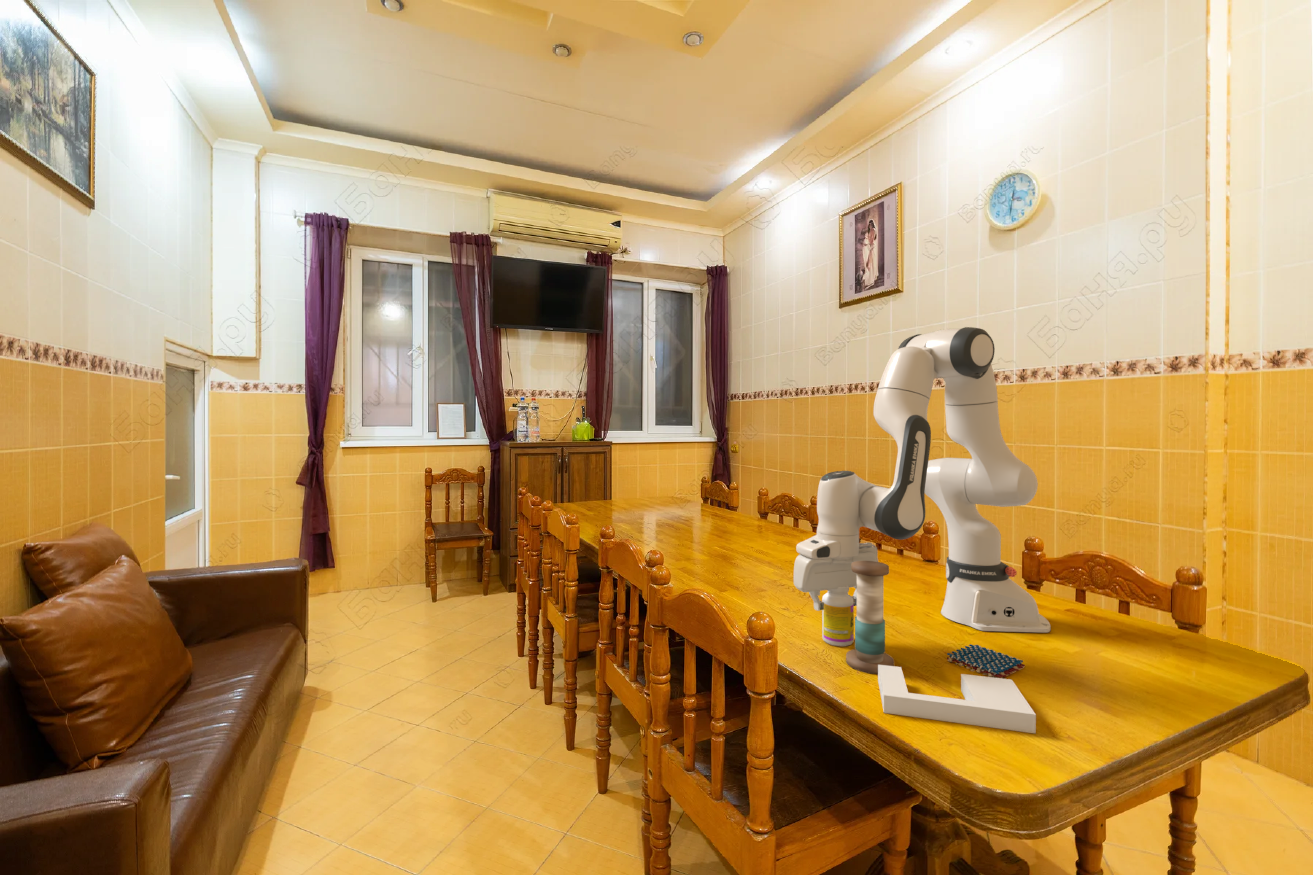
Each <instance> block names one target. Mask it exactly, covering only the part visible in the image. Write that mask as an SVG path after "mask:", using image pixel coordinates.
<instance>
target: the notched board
mask: <svg viewBox="0 0 1313 875" xmlns="http://www.w3.org/2000/svg"><path fill="white" fill-rule="evenodd" d="M960 679H961V680H960V691H961V693H962V695H963V698H964V699H961V698H954V697H953V698H952V697H944V696H938V695H930V694H929V695H928V694H921V693H913V692H909V691H908V688H907V684H906V683H907V682H906V680H905V676H904V673H903V670H902V666H895V665H894V666H887V665H878V674H877V682H878V687H879V693H880V698H881V704H882V709H883V713H884V714H889V715H898V716H904V717H911V718H912V717H913V718H921V719H927V720H934V721H941V722H949V723H957V724H963V725H972V726H978V727H986V728H992V729H993V728H994V729H1000V730H1007V731H1008V730H1009V731H1013V732H1014V731H1016V732H1022V733H1028V734H1037V733H1036V730H1037V726H1036V724H1037V714H1036V713H1035V711H1034V709H1033V708H1032V707H1031V706H1030V704H1029V703H1028V701H1027V699H1026V698H1025V697H1024V695H1023V694H1022V693H1021V691H1020V689H1019V688H1018V686H1017V685H1016V683H1015V682H1014V681H1013V679H1010V678H1008V679H1007V678H1003V677H1002V678H996V677H989V676H985V675H984V676H983V675H982V676H981V675H976V674H975V675H973V674H966V673H960Z"/></svg>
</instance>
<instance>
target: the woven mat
mask: <svg viewBox="0 0 1313 875" xmlns="http://www.w3.org/2000/svg"><path fill="white" fill-rule="evenodd" d="M946 654H947V656H948V657H946V660H947V661H948V662H949V663H955V665H957V664H958V665H959V666H960V667H961V666H964V667H965V669H970V671H971V672H976V673H978V674H982V676H983V675H984V676H987V677H993V678H1002V679H1003V678H1007V677H1008V676H1010V675H1012V674H1014V673H1016V672H1019V671H1020V670H1022V669H1024V668H1025V667H1026V664H1024V663H1023V662H1024V660H1023V659H1019V658H1017V657H1014V656H1009V655H1008V654H1005V653H1001V652H997V651H995V650H993V649H989V648H986V647H982V646H981V645H979V644H975V645H974V644H968V646H967V645H965V646H964V648H963V647H960V649H955V651H951V652H948V653H946ZM965 665H966V666H965Z"/></svg>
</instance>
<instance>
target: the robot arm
mask: <svg viewBox="0 0 1313 875" xmlns="http://www.w3.org/2000/svg"><path fill="white" fill-rule="evenodd" d="M994 357H995V343H994V341H993V338H992V337H991V336H990V334H989V333H988V332H987V330H985V329H983V328H980V327H972V326H969V327H968V326H964V327H962V328H946V329H944V328H943V329H939V330H936V331H930V332H926V333H923V334H922V333H919V334H918V333H917V334H915V335H911V336H909V337H907V338H905V339H904V340H903V341H902V342H901V343H900V345H899V346H898V348H897V349H896V350H894V352H892V353H891V355H890V357H889V360H888V361H887V363H886V365H885V368H884V370H883V372H882V375H881V377H880V381H879V383H878V388H877V390H876V394H875V398H874V403H873V417H874V419H875V422H876V423H877V425H878V426H879V428H880V429H882V430H883V431H885V432H886V433H887V434H889V435H890V436H891V437H892V438H893V439H894V441H895V443H896V446H897V455H896V462H895V470H894V476H893V483H892V485H891V487H889V488H888V487H884V486H880V485H876V484H874V483H872V482H870V481H869V482H868V481H867V480H864V479H863V478H862V477H860V476H858V475H857V474H856V473H855V472H854V471H851V470H837V471H831V472H828V473H826V474H824V475H822V476H821V478H820V480H819V484H818V485H817V486H818V488H817V493H816V495H817V497H816V512H817V513H816V514H817V516H818V524H817V527H816V534H815V535H813V536H811V537H809V538H807V539H805V540H803V541H800V542H798V543H797V544H796V546H795V548H796V549H795V550H796V552H797V553H798V555H797V556H796V558H795V560H794V563H793V564H794V566H793V585H794V586H795V588H796V589H797V590H798V591H800V592H802V593H809V595H810V597H811V599H812V601H813V609H814V610H815V611H818V612H820V611H822V610H824V602H822V600H820V598H819V596H821V591H828V590H831V589H837V588H838V587H843V586H848V587H849V588H854V589H855V590H854V592H853V595H850V596H851V597H852V598H853V601H854V607H857V573H854V572H853V571H852V570H851V563H852V562H855V561H875V562H879V558H878V547H877V546H876V545H875V544H873V543H872V542H864V543H863V542H860V528H862V527H864V528H868V529H870V530H872V531H877V532H878V533H882V534H883V535H886V536H888V537H890V538H892V539H895V540H900V541H902V540H906V539H910V538H912V537H914V536H915V535H916V534H917V533H918V532H920V530H921V528H922V527H923V525H924V523H925V520H926V500H925V498H926V497H925V495H926V496H927V498H930V499H931V500H932V501H933V502H934V503H935V504H936V506H937V508H938V509H939V510H940V512H941V513H942V516H943V518H944V520H945V524H946V528H947V529H946V530H947V538H948V556H947V557H946V563H945V578H946V580H947V584H946V590H945V596H944V599H943V605H942V607H941V611H940V614H941V615H942V616H943V617H944V618H946V619H948V620H950V621H952V622H956V623H959V624H962V625H966V626H968V627H972V628H973V629H976V630H979V631H982V632H1006V633H1007V632H1008V633H1009V632H1014V633H1042V634H1043V633H1050V632H1051V630H1052V629H1051V627H1052V626H1051V624H1050V622H1049V620H1048V619H1047V618H1046V617H1044V616H1043V615H1042V614H1040V613H1039V608H1038V605H1037V601H1036V600H1035V598H1034V597H1033V596H1032V595H1031V594H1030V593H1029V592H1027V590H1026V589H1024V588H1022V586H1020V585H1019V584H1018V583H1016V582H1015V581H1014V580H1012V579H1011V578H1015V577H1016V576H1017V575H1018V572H1017V570H1016V569H1015V568H1014V567H1013V566H1009V565H1008V564H1006V563H1004V562H1002V561H1001V556H1002V554H1001V550H1002V549H1001V547H1002V546H1001V545H1002V544H1001V542H1002V540H1001V539H1002V534H1001V532H1000V530H999V528H998V527H997V526H996V525H995V524H994V523H993V522H991V521H990V520H989V519H986V518H985V517H984V516H982V515H981V514H980V512H979V511H978V509H977V507H976V505H982V506H991V507H1000V508H1005V507H1019V506H1026V505H1028V504H1029V503H1030V502H1031V501H1032V500H1033V499H1034V497H1036V496H1035V495H1036V493H1037V492H1038V487H1039V486H1038V484H1039V482H1038V479H1037V478H1038V477H1037V476H1036V473H1035V472H1034V470H1033V469H1032V467H1030V466H1029V465H1028V464H1026V463H1025V462H1023V461H1022V460H1021V459H1020V458H1018V457H1017V456H1016V455H1015V454H1014V453H1013V452H1012V451H1011V449H1010V448H1009V446H1008V445H1007V443H1006V441H1005V440H1004V437H1003V435H1002V431H1001V424H1000V416H999V403H998V402H999V399H998V398H999V397H998V388H997V382H996V377H995V373H994V372H995V371H994V370H993V366H992V363H993V360H994ZM935 379H943V381H944V383H945V385H944V410H945V414H944V415H945V427H946V428H945V430H946V434H947V435H948V437H949V438H950V440H952V441H953V442H955V443H956V444H958V445H961V446H962V447H963V448H965V449H966V450H967V451H968V453H969V454H970V456H971V458H964V457H963V458H962V457H941V458H936V459H930V452H931V444H932V443H931V439H932V431H931V426H930V425H931V424H930V423H929V422H928V408H929V403H930V399H931V394H932V390H933V384H934V381H935ZM929 459H930V460H929ZM1010 577H1011V578H1010Z"/></svg>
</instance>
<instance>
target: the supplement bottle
mask: <svg viewBox="0 0 1313 875" xmlns="http://www.w3.org/2000/svg"><path fill="white" fill-rule="evenodd" d="M849 591H850V587H848V586H843V587H838V588H837V589H831V590H827V592H826V593H825V594H823V595H822V599H821V601H822V602H824V610H821V611H822V612H821V614H822V615H821V619H822V620H821V621H822V624H821V625H822V626H821V627H822V629H821V632H822V634H821V635H822V636H821V638H822V640H823V641H824V642H825V643H826V644H829V645H830V646H836V647H848V646H851V645H852V644H853V643H854V642H855V617H854V613H855V612H854V611H855V610H854V607H855V606H854V601H853V598H852V597H851V596H852V595H850V594H849Z"/></svg>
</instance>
